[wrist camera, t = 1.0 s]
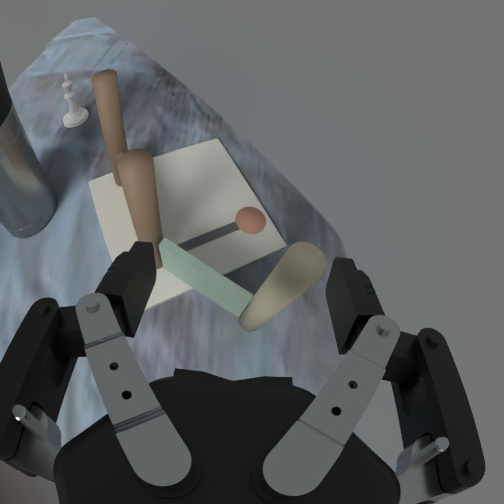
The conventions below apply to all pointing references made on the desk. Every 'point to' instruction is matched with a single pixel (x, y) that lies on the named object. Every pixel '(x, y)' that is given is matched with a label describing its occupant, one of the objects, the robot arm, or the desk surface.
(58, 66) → the desk surface
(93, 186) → the white board with posts
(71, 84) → the chess piece
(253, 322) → the l-shaped bracket
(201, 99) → the desk surface
